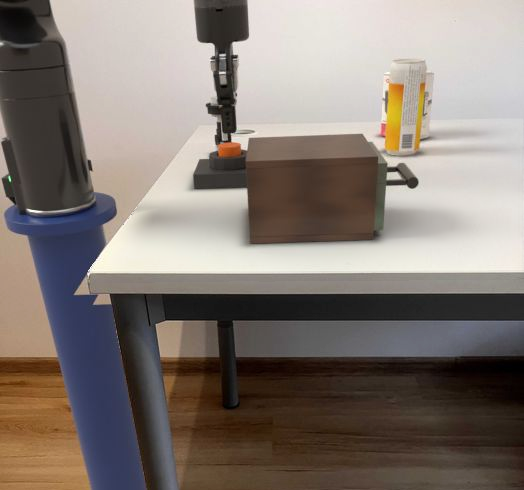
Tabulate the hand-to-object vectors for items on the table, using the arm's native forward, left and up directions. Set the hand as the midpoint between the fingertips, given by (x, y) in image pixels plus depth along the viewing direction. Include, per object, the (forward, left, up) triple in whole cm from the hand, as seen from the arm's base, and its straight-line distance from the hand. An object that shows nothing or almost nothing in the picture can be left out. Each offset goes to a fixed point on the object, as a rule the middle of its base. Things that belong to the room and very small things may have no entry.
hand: (229, 132), depth 92 cm
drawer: (+15, -23, -6) cm, 28 cm away
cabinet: (+11, -23, -7) cm, 26 cm away
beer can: (+30, +14, -7) cm, 34 cm away
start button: (0, 0, -4) cm, 4 cm away
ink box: (+33, +27, -7) cm, 43 cm away
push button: (-2, +16, -7) cm, 18 cm away
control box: (0, 0, -7) cm, 7 cm away
